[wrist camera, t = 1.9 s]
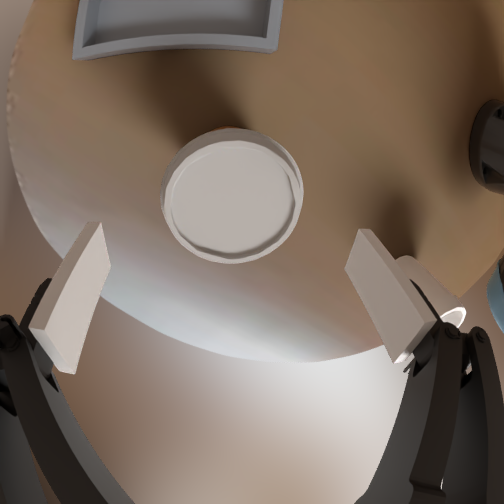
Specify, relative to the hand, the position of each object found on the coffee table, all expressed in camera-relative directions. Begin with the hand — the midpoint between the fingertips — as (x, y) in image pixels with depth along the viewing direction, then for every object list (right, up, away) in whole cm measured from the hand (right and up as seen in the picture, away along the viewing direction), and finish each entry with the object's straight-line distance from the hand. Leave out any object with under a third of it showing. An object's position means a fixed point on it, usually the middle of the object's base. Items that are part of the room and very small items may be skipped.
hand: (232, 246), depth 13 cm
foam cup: (+25, -3, +26) cm, 36 cm away
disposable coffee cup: (-2, +10, +13) cm, 16 cm away
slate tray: (-5, +26, +1) cm, 26 cm away
